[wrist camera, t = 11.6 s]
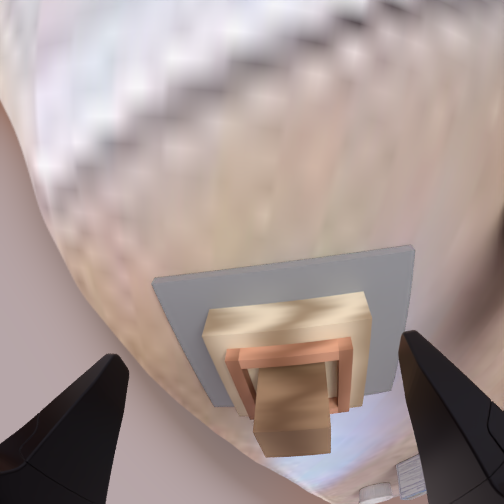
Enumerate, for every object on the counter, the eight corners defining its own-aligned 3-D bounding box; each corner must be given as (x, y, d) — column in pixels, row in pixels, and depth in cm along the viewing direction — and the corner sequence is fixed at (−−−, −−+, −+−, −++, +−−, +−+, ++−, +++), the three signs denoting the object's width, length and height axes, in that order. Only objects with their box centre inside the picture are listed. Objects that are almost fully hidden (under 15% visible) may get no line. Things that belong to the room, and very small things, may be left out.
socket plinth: (363, 291, 22) (375, 330, 18) (358, 381, 28) (363, 416, 24) (209, 309, 24) (198, 348, 20) (242, 392, 30) (238, 426, 26)
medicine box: (405, 465, 45) (410, 500, 38) (394, 464, 44) (399, 500, 37) (437, 450, 42) (444, 486, 34) (428, 448, 41) (435, 486, 33)
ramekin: (385, 488, 56) (386, 501, 52) (353, 493, 57) (354, 506, 53) (397, 479, 51) (399, 493, 48) (363, 484, 52) (364, 499, 48)
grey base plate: (411, 244, 20) (415, 250, 20) (389, 385, 29) (391, 390, 29) (154, 277, 24) (151, 283, 23) (215, 401, 33) (214, 406, 32)
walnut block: (324, 357, 22) (330, 427, 17) (326, 392, 24) (330, 453, 19) (259, 364, 23) (253, 432, 17) (269, 397, 25) (265, 457, 20)
